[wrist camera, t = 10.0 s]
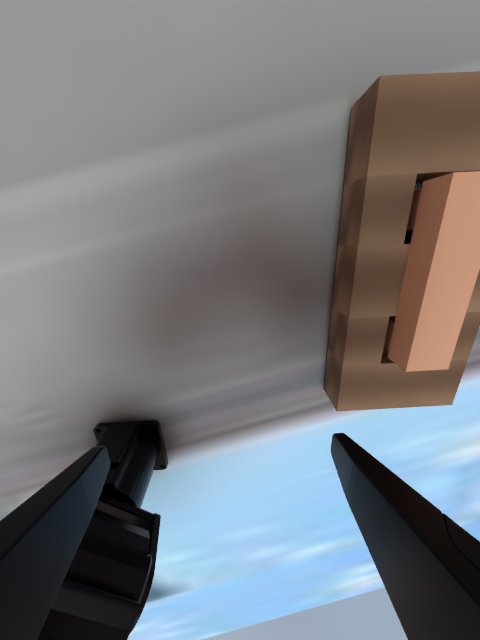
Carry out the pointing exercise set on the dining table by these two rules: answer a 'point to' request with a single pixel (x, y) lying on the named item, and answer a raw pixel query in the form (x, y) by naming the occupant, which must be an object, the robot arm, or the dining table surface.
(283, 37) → the dining table surface
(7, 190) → the dining table surface
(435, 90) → the brown slotted board
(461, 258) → the tall terracotta pillar
